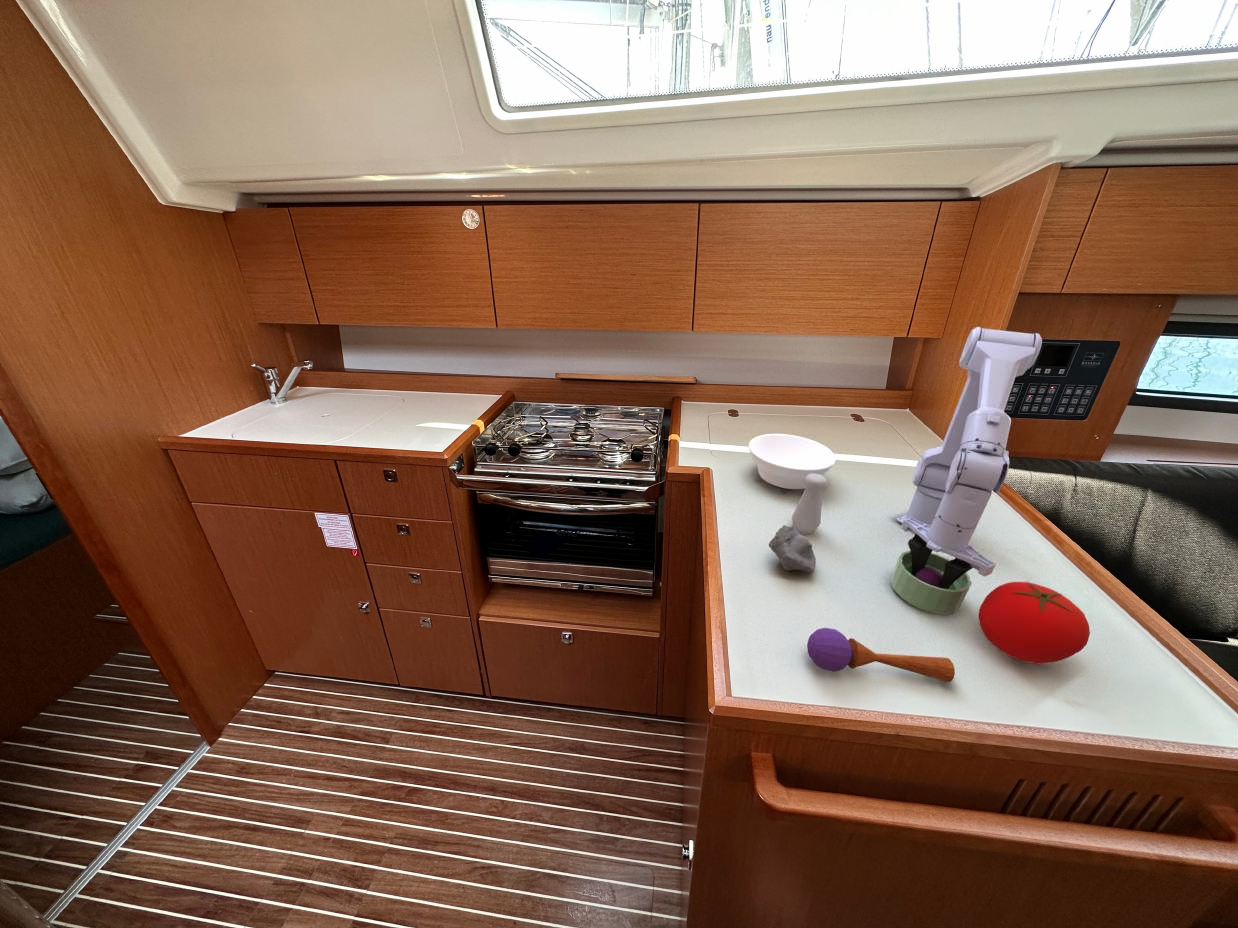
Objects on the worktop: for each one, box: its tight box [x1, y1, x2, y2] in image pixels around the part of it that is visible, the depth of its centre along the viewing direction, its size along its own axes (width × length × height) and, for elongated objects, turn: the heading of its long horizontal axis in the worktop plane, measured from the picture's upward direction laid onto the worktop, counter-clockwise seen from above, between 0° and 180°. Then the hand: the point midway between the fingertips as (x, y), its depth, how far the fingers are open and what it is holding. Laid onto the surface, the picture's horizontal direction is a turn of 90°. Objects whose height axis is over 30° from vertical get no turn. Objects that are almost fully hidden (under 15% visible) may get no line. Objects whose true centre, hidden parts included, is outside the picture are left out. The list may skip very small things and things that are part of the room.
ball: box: [915, 567, 943, 587], centre depth 83 cm, size 4×4×4 cm
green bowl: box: [890, 550, 972, 615], centre depth 84 cm, size 11×11×6 cm
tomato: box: [978, 581, 1091, 665], centre depth 72 cm, size 12×13×11 cm
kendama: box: [806, 627, 956, 683], centre depth 69 cm, size 6×6×20 cm
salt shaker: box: [791, 473, 828, 535], centre depth 99 cm, size 6×6×13 cm
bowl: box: [748, 433, 837, 490], centre depth 120 cm, size 21×21×8 cm
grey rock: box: [768, 524, 817, 573], centre depth 89 cm, size 11×9×8 cm
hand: (928, 582), depth 84 cm, fingers closed on ball, 4 cm apart
